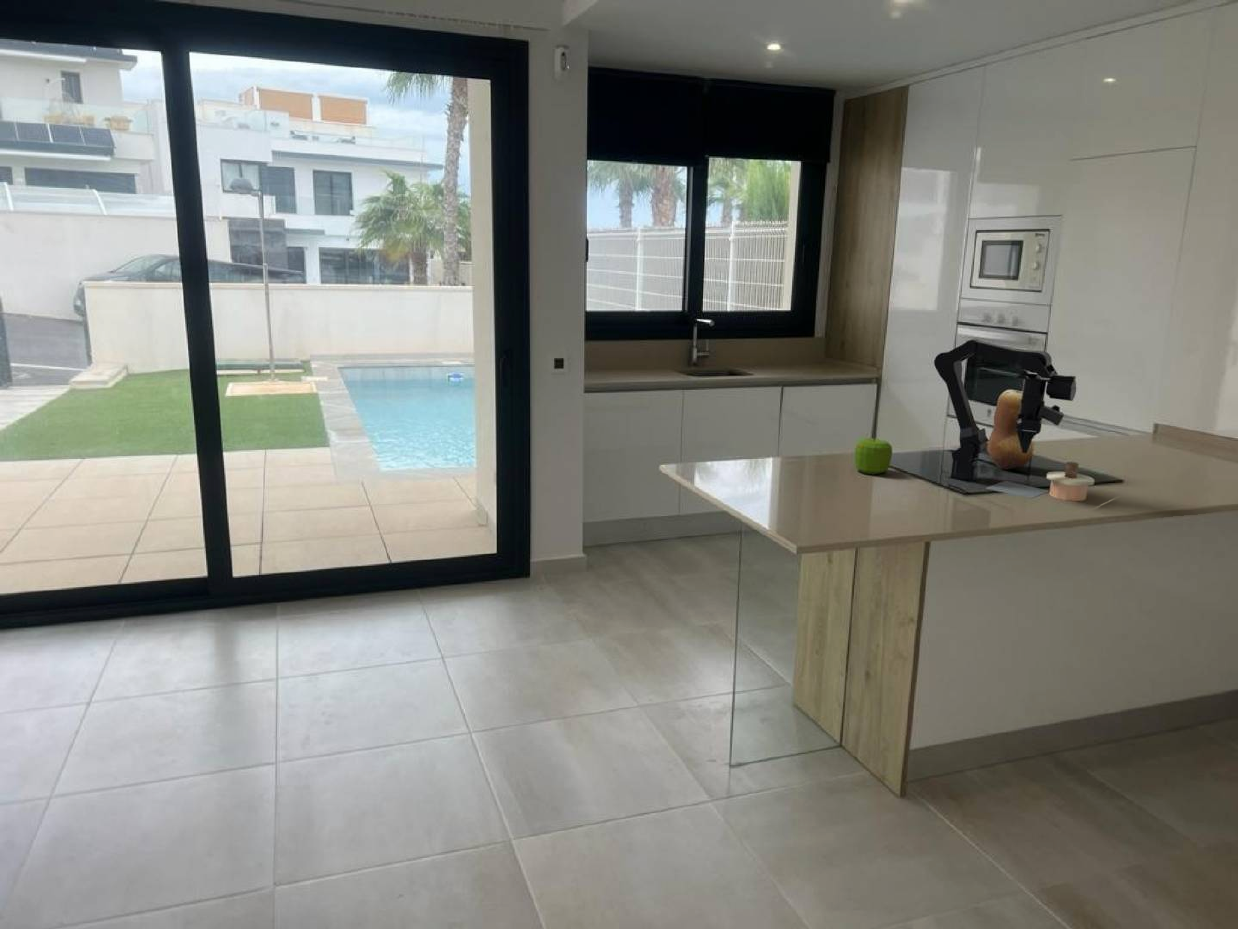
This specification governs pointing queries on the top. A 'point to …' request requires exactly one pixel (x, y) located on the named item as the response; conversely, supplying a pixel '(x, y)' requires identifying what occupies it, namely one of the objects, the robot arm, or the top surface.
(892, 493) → the top surface
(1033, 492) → the mat
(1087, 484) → the lid
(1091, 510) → the top surface
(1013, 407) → the butternut squash
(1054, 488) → the bowl
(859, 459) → the apple
